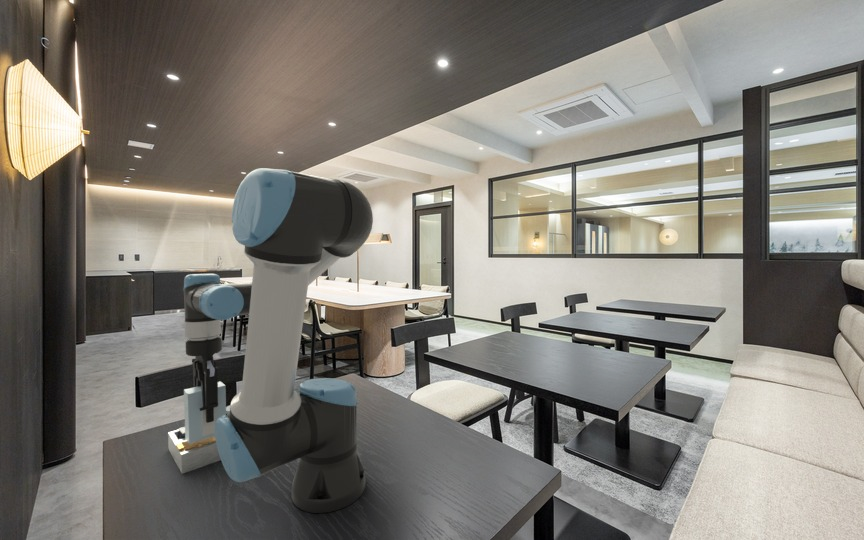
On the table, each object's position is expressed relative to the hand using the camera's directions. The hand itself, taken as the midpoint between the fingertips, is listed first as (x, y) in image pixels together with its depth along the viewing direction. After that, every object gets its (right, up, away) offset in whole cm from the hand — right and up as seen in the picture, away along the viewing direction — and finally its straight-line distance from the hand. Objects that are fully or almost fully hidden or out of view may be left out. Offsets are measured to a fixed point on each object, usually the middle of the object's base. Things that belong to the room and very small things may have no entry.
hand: (206, 430), depth 90 cm
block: (0, -1, 0) cm, 1 cm away
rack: (-3, -7, +3) cm, 8 cm away
